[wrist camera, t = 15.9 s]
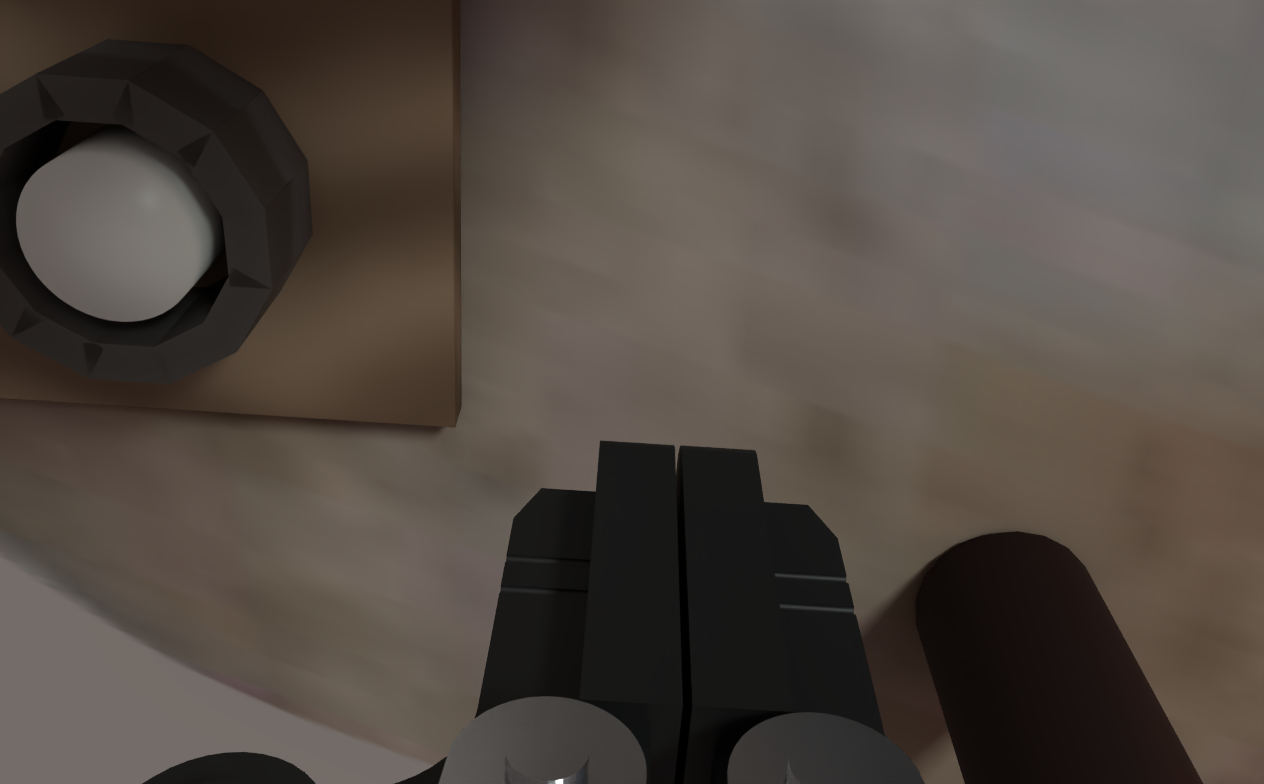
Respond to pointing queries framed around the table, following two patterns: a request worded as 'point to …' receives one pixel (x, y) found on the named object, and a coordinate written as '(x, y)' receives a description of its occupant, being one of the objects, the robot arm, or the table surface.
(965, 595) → the bottle
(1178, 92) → the table surface
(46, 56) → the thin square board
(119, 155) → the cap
